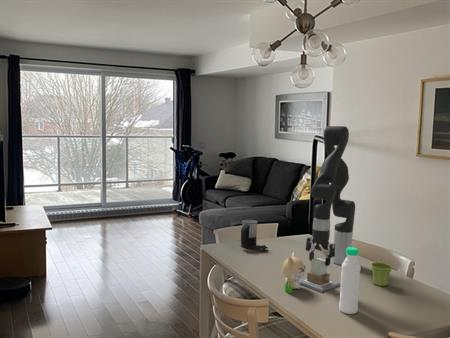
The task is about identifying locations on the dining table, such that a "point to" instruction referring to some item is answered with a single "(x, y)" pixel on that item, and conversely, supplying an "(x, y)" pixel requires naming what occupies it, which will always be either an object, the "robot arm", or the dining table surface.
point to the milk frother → (250, 234)
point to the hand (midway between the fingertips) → (319, 263)
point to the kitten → (293, 272)
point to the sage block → (318, 266)
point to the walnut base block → (318, 278)
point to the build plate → (316, 287)
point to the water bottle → (350, 282)
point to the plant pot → (381, 273)
